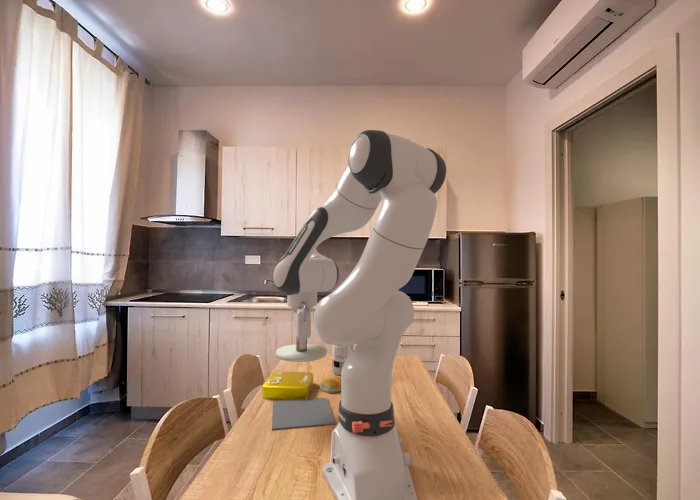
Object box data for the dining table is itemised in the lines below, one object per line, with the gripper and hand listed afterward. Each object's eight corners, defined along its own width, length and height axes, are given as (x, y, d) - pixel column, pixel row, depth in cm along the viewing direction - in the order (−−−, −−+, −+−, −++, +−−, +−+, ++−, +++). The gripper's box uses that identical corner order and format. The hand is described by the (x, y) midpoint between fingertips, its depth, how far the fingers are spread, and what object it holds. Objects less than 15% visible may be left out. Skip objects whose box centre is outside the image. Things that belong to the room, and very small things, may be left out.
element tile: (306, 401, 110) (306, 386, 111) (260, 399, 111) (260, 384, 111) (314, 384, 125) (314, 370, 125) (273, 382, 126) (273, 369, 126)
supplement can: (329, 370, 138) (329, 333, 139) (347, 368, 142) (348, 331, 142) (337, 377, 131) (337, 337, 131) (356, 374, 135) (356, 335, 135)
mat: (335, 424, 95) (335, 422, 95) (271, 430, 92) (271, 428, 92) (326, 398, 112) (326, 397, 112) (273, 402, 108) (273, 401, 108)
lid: (330, 360, 97) (330, 340, 97) (275, 363, 94) (275, 343, 94) (323, 346, 112) (323, 329, 112) (276, 348, 109) (276, 330, 109)
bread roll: (350, 388, 121) (350, 376, 121) (332, 395, 115) (332, 383, 115) (334, 382, 127) (334, 371, 127) (315, 388, 120) (315, 377, 120)
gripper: (316, 304, 93) (315, 355, 93) (310, 295, 114) (309, 337, 113) (293, 305, 92) (292, 357, 92) (290, 295, 112) (290, 338, 112)
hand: (301, 346), depth 103 cm, fingers closed on lid, 3 cm apart
